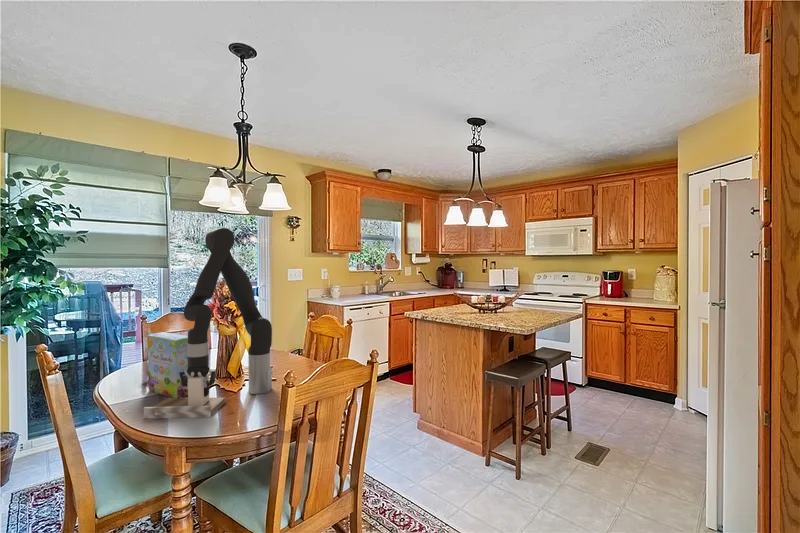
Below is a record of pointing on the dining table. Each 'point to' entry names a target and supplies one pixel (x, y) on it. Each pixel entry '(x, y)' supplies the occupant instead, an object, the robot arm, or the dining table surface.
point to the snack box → (167, 363)
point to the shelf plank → (183, 408)
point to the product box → (196, 391)
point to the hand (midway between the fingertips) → (198, 396)
